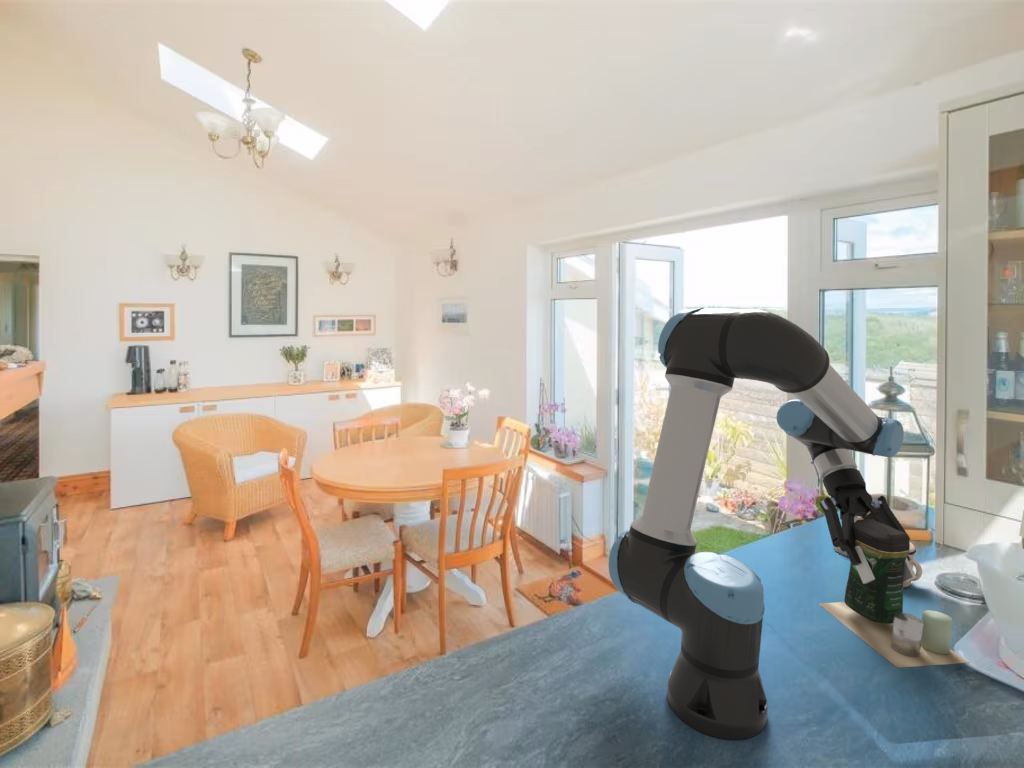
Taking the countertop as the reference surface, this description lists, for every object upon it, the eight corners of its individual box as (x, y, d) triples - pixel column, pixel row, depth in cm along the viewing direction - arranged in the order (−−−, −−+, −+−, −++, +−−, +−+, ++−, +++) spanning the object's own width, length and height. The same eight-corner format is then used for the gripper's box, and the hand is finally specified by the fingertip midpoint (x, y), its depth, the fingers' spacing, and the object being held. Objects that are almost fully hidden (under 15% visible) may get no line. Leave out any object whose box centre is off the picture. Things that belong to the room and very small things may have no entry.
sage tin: (926, 652, 101) (929, 620, 100) (915, 639, 105) (918, 609, 104) (954, 655, 100) (957, 624, 99) (942, 642, 104) (945, 612, 103)
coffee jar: (910, 623, 108) (921, 532, 105) (876, 628, 106) (887, 536, 103) (867, 597, 117) (876, 513, 114) (836, 602, 115) (844, 516, 112)
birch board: (896, 675, 97) (897, 667, 97) (817, 610, 117) (818, 603, 117) (968, 670, 98) (969, 662, 98) (878, 606, 119) (878, 600, 119)
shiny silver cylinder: (903, 658, 99) (907, 627, 98) (884, 643, 103) (888, 613, 103) (926, 656, 100) (930, 625, 99) (906, 641, 104) (909, 612, 103)
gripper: (873, 481, 125) (925, 584, 111) (786, 483, 122) (829, 588, 109) (894, 465, 119) (952, 571, 105) (804, 467, 116) (851, 576, 103)
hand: (889, 580), depth 107 cm, fingers closed on coffee jar, 8 cm apart
